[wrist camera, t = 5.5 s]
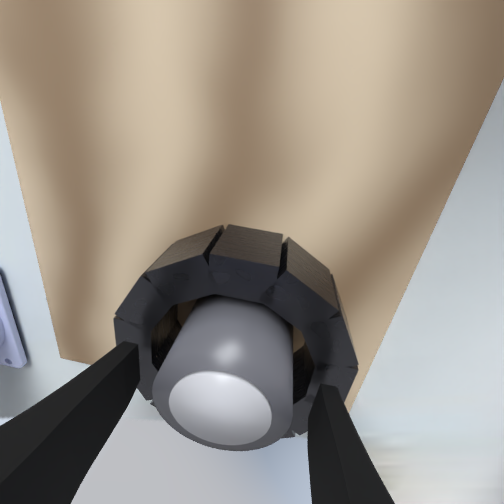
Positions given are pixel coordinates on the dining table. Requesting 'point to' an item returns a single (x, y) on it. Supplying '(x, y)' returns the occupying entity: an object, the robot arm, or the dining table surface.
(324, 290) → the segmented dark ring
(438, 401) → the dining table surface
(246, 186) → the tan wooden board
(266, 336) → the grey domed cylinder
